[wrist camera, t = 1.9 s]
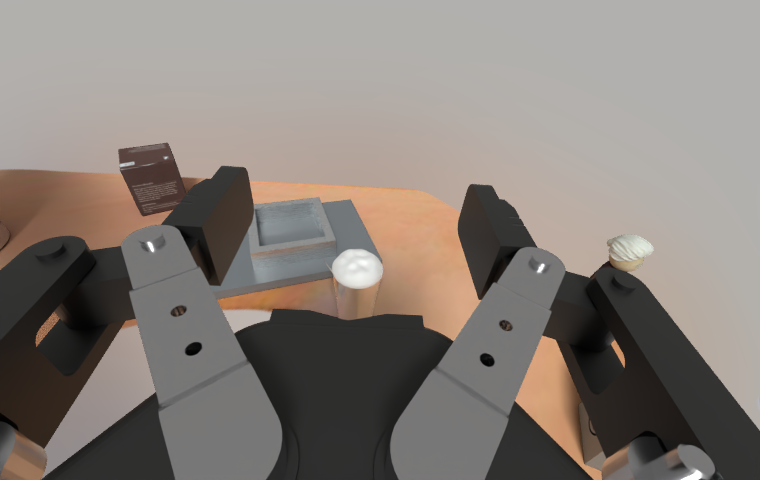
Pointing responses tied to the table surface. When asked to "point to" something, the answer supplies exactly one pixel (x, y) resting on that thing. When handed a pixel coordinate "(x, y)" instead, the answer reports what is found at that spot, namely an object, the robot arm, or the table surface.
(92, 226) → the table surface
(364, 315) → the milkshake
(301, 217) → the dock
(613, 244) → the grandmother figurine
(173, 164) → the box
